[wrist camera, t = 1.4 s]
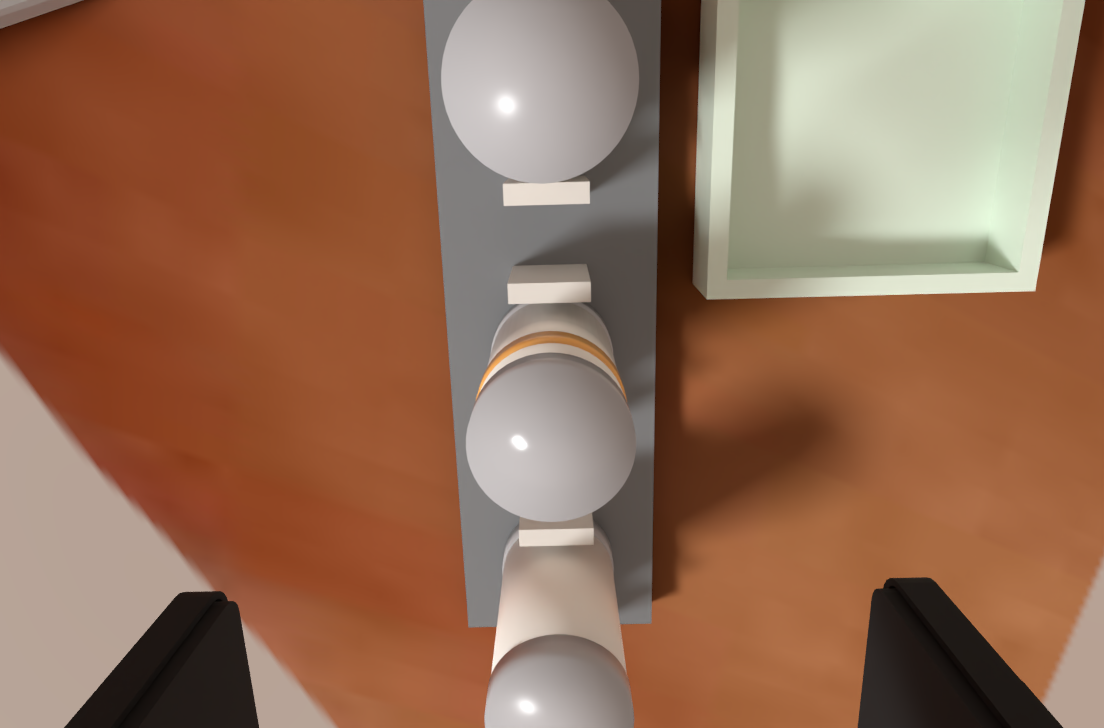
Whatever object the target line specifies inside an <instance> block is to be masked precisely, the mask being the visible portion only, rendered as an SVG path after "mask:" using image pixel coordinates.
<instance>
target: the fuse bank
mask: <svg viewBox="0 0 1104 728" xmlns="http://www.w3.org/2000/svg"><path fill="white" fill-rule="evenodd" d="M423 3H424V17H425V31H426V45H427V58H428V72H429V86H430V100H431V114H432V127H433V141H434V155H435V169H436V183H437V197H438V210H439V224H440V238H441V252H442V266H443V279H444V293H445V307H446V321H447V335H448V348H449V362H450V376H451V390H452V404H453V418H454V431H455V445H456V459H457V473H458V487H459V500H460V514H461V528H462V542H463V556H464V570H465V583H466V597H467V611H468V625H469V627H497V630H496V639H495V647H494V656H493V664H492V673H491V677H490V680H489V685H488V692H487V700H486V708H485V728H634V711H633V704H632V697H631V689H630V683H629V679H628V676H627V673H626V665H625V658H624V650H623V643H622V635H621V628H620V624H648V623H651V613H652V549H653V485H654V421H655V358H656V294H657V230H658V166H659V103H660V39H661V0H423ZM575 302H586V303H588V304H589V305H590V306H592V307H593V308H594V309H595V310H596V311H597V312H598V314H599V315H600V316H601V318H602V319H603V321H604V323H605V325H606V326H607V329H608V332H609V335H610V339H611V343H612V347H613V356H614V360H615V364H616V368H617V370H618V372H619V374H620V377H621V380H622V383H623V387H624V390H625V394H626V399H627V403H628V406H629V409H630V413H631V416H632V420H633V424H634V428H635V433H636V454H635V459H634V463H633V466H632V469H631V472H630V474H629V476H628V478H627V480H626V482H625V483H624V485H623V486H622V488H621V489H620V490H619V492H618V493H617V494H616V495H615V496H614V497H613V498H612V499H611V500H610V501H608V502H607V503H606V504H605V505H603V506H602V507H600V508H599V509H597V510H596V511H594V512H592V513H589V514H587V515H585V516H582V517H579V518H576V519H572V520H567V521H560V522H542V521H535V520H530V519H526V518H523V517H520V516H517V515H515V514H513V513H511V512H509V511H507V510H505V509H503V508H502V507H500V506H499V505H498V504H496V503H495V502H494V501H493V500H492V499H490V498H489V497H488V496H487V495H486V494H485V492H484V491H483V490H482V489H481V487H480V486H479V484H478V483H477V481H476V480H475V478H474V476H473V474H472V471H471V469H470V466H469V463H468V459H467V453H466V434H467V428H468V424H469V421H470V417H471V414H472V411H473V407H474V404H475V401H476V397H477V394H478V390H479V387H480V383H481V380H482V377H483V374H484V372H485V370H486V368H487V366H488V362H489V359H490V355H491V347H492V343H493V339H494V336H495V332H496V329H497V327H498V325H499V323H500V321H501V319H502V318H503V316H504V315H505V314H506V313H507V311H508V310H509V309H510V308H511V307H513V306H514V305H515V304H536V303H575Z"/></svg>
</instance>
